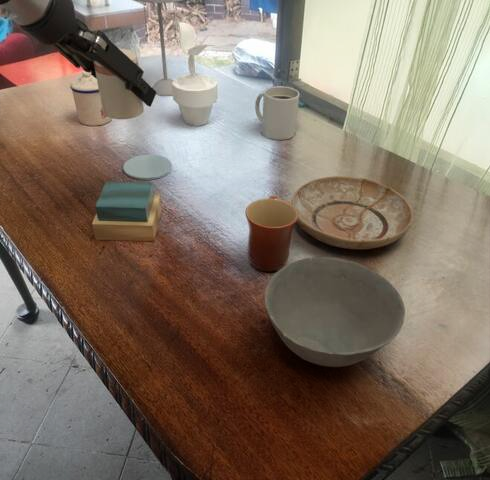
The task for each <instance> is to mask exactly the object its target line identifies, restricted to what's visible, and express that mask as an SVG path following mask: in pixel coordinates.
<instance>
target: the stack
mask: <svg viewBox="0 0 490 480" xmlns="http://www.w3.org/2000/svg"><path fill="white" fill-rule="evenodd" d="M94 208H95V212H96V213H95V215H94V218H93V220H92V223H91V227H92V230H93V234H94V238H95V240H97V241H127V242H128V241H129V242H130V241H131V242H155V241H156V237H157V232H158V229H159V225H160V220H161V215H162V213H163V205H162V196H161V193H155V189H154V182H146V181H145V182H144V181H143V182H139V181H114V180H113V181H111V180H106V181H105V183H104V185H103V188H102V190H101V192H100V194H99V197H98V199H97V201H96V204H95V206H94Z"/></svg>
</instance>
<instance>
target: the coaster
mask: <svg viewBox="0 0 490 480" xmlns="http://www.w3.org/2000/svg"><path fill="white" fill-rule="evenodd" d="M122 168H123V172H124V174H125V175H126V176H127V177H129V178H131V179H135V180H137V181H152V180H153V181H154V180H158V179H161V178H164V177H166V176H167V175H169V174H170V173H171V172H172V171H173V170H172V169H173V164H172V162H171V160H170V159H169V158H167V157H165V156H163V155H159V154H141V155H136V156H133V157H130V158H129V159H127V160H126V161H125V162H124V164H123V166H122Z"/></svg>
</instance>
